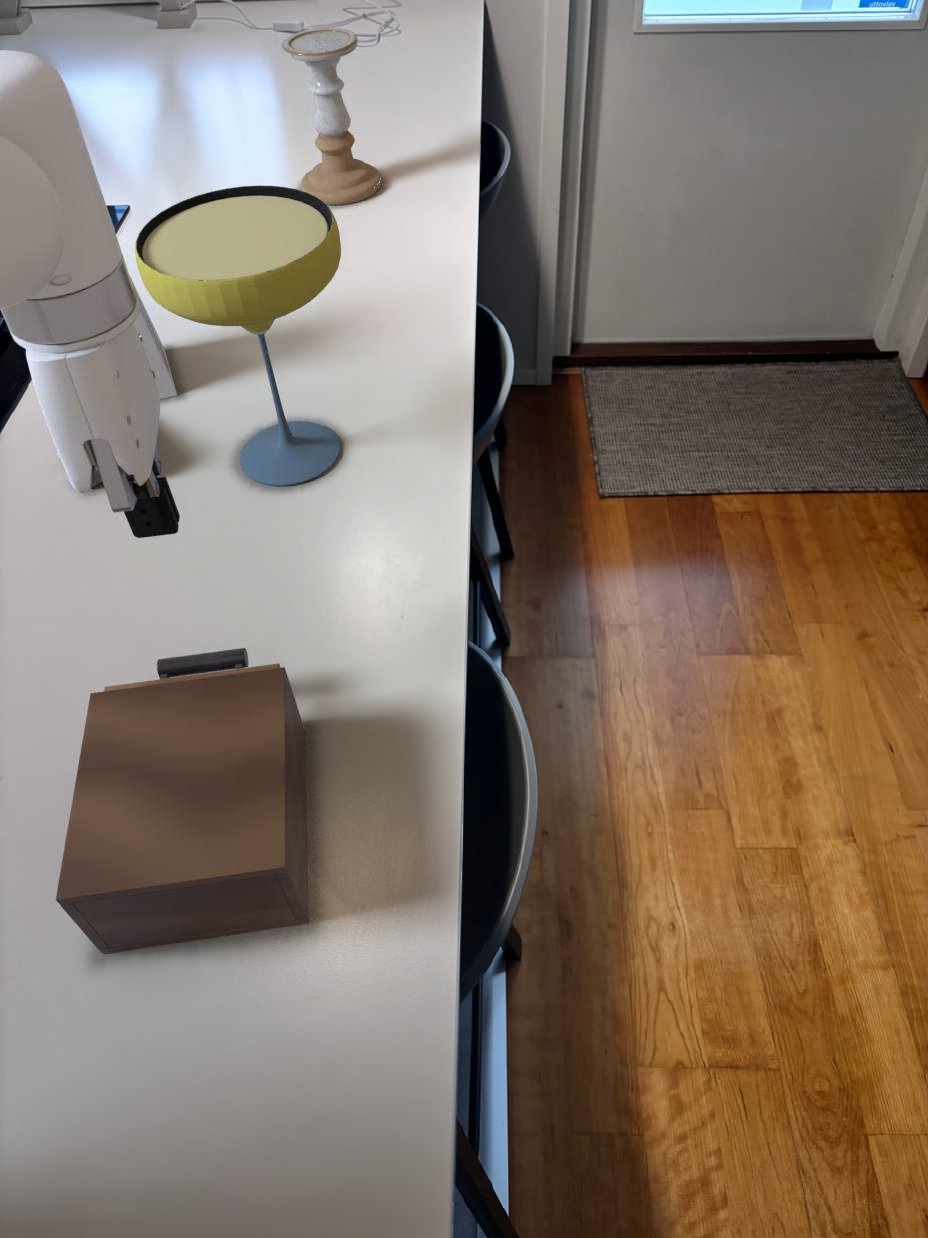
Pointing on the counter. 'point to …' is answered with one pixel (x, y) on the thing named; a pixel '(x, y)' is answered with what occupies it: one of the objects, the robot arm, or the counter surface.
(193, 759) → the cabinet
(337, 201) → the candle holder
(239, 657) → the drawer
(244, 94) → the counter surface
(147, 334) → the grater
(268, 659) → the counter surface
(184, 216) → the cocktail glass
